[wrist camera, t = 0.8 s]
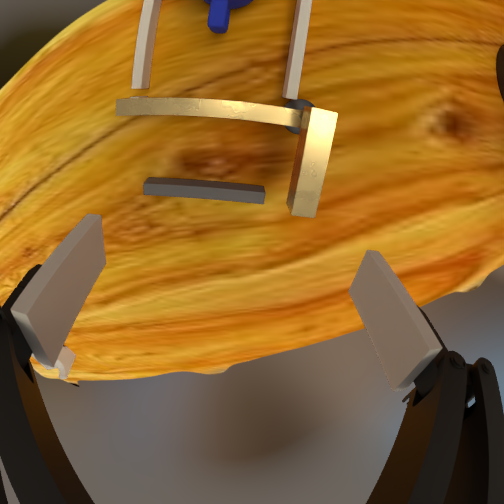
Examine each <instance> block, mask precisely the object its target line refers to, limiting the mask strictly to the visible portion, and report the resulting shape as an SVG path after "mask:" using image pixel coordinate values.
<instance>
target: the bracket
mask: <svg viewBox="0 0 504 504" xmlns="http://www.w3.org/2000/svg"><path fill="white" fill-rule="evenodd" d="M32 356H33V357H34V358H35V356H34V354H33V353H32ZM75 357H76V355H75V354H74V353H73V352H72V351H71V350H70V349H69V348H68V347H67V346H65V347H64V346H63V347H62V349H61V351H60V354H59V356H58V358H57V361H56V363H55V365H54V368H59V378H61V379H67V377H68V375H69V372H70V369H71V367H72V364H73V362H74V359H75ZM35 359H36V358H35ZM40 364H41V365H43V366H44V367H45V368H46V369H47V370H48V369H54V368H53V367H50V366H48V365H45V364H42V363H40Z"/></svg>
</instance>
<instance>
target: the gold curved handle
mask: <svg viewBox="0 0 504 504" xmlns="http://www.w3.org/2000/svg"><path fill="white" fill-rule="evenodd" d="M124 115H187V116H206V117H220V118H231V119H241V120H250V121H258V122H266V123H273V124H280V125H286V126H292V127H298V128H300V133H299V139H298V144H297V150H296V155H295V161H294V166H293V171H292V176H291V182H290V187H289V192H288V197H287V202H286V204H287V206H288V208H289V211H290V213H291V215H295V216H303V217H311V218H315V214H316V210H317V206H318V202H319V198H320V194H321V190H322V185H323V181H324V177H325V172H326V168H327V163H328V159H329V154H330V150H331V145H332V140H333V135H334V130H335V125H336V120H337V115H338V113H335V112H331V111H327V110H323V109H318V108H314V107H309V106H304V109H298V110H297V109H292V108H286V107H280V106H273V105H267V104H259V103H251V102H242V101H233V100H221V99H206V98H183V97H146V98H124V99H117V100H116V116H124Z"/></svg>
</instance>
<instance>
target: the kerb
mask: <svg viewBox="0 0 504 504" xmlns="http://www.w3.org/2000/svg"><path fill="white" fill-rule="evenodd" d="M143 189H144V195H157V196H174V197H188V198H202V199H214V200H225V201H236V202H247V203H257V204H264V199H265V189H264V186H258V185H248V184H238V183H228V182H217V181H204V180H190V179H174V178H154V177H149V178H148V179H147V180H146V181H145V182H144V183H143Z"/></svg>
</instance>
